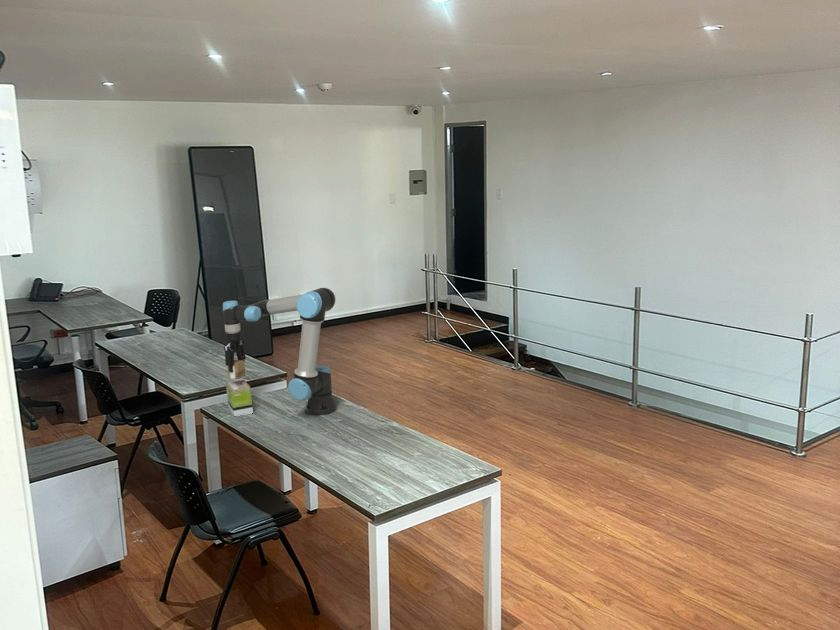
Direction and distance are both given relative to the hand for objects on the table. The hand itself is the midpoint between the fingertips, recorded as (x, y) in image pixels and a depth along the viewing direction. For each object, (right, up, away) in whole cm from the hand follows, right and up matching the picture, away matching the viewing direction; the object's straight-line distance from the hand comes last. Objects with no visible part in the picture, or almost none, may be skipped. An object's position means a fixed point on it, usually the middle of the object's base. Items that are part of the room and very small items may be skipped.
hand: (237, 376), depth 383 cm
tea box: (+1, -19, +4) cm, 19 cm away
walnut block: (0, 0, 0) cm, 0 cm away
